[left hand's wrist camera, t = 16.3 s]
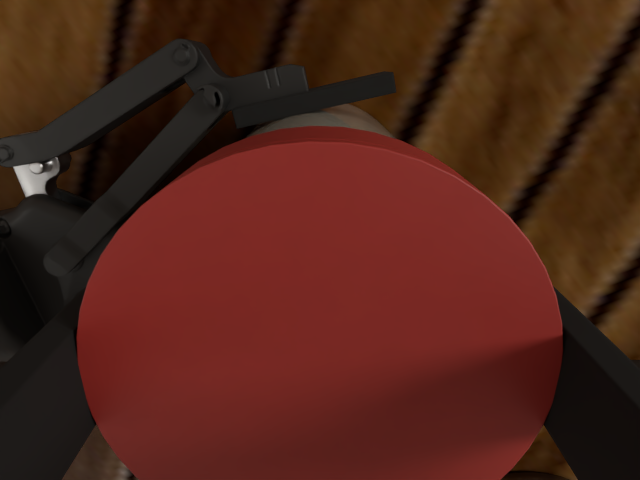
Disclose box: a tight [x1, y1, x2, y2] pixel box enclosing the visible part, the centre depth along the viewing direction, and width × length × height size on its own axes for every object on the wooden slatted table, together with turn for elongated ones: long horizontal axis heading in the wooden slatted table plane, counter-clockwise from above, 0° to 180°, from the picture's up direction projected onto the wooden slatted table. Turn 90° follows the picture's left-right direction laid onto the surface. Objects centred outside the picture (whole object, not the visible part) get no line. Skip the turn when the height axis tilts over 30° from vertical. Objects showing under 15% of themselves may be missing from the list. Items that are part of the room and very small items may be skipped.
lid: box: [76, 126, 563, 480], centre depth 11 cm, size 11×11×2 cm
